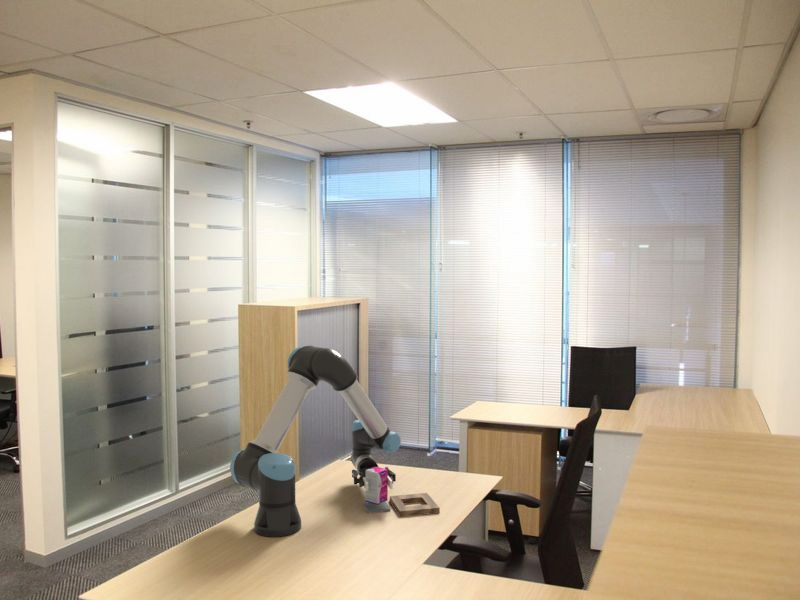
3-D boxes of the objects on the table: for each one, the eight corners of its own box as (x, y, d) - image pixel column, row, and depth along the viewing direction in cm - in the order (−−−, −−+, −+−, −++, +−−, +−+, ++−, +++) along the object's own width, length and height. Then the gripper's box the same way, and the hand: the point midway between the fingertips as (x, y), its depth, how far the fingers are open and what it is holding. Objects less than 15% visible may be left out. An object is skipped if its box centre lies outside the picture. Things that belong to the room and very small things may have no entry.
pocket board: (400, 516, 237) (400, 511, 237) (389, 501, 252) (389, 496, 252) (439, 512, 240) (439, 507, 240) (426, 497, 256) (426, 492, 255)
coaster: (367, 513, 240) (367, 510, 240) (363, 505, 248) (363, 503, 248) (390, 511, 242) (390, 508, 242) (385, 503, 250) (385, 501, 250)
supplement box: (378, 505, 241) (377, 472, 240) (365, 502, 244) (364, 469, 244) (388, 500, 245) (387, 468, 245) (375, 497, 249) (374, 465, 248)
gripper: (393, 474, 265) (408, 494, 242) (339, 479, 260) (349, 499, 238) (393, 455, 264) (408, 472, 242) (339, 459, 259) (349, 477, 237)
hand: (379, 485), depth 240 cm, fingers closed on supplement box, 8 cm apart
